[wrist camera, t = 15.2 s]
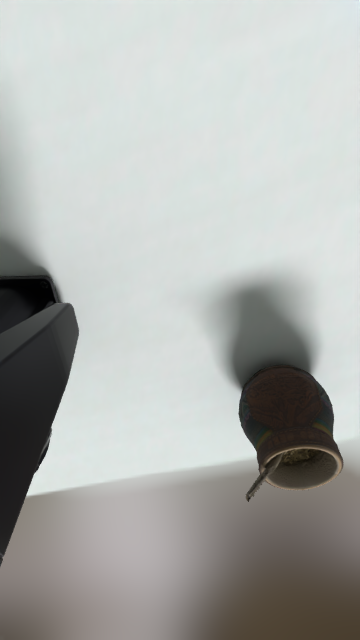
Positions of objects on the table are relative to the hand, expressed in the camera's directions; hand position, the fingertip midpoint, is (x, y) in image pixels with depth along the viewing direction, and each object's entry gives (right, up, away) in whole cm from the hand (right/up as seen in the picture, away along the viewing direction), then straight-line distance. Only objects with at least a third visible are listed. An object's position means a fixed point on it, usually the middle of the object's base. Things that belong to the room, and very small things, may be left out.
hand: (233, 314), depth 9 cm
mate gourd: (+7, -6, +20) cm, 22 cm away
